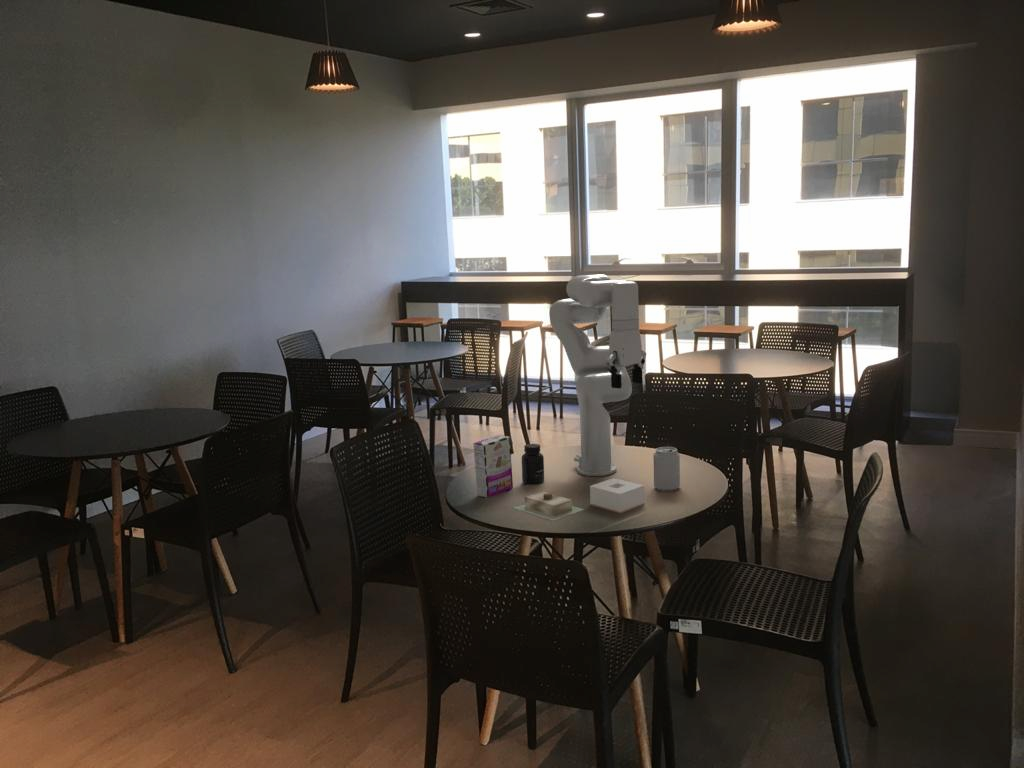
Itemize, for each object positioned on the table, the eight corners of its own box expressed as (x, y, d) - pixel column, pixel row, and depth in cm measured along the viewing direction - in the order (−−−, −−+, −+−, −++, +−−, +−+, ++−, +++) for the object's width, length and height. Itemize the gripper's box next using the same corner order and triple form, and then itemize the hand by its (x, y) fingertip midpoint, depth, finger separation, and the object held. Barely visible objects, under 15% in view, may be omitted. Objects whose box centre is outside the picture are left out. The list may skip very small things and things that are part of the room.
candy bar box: (501, 486, 256) (498, 434, 253) (513, 489, 253) (511, 436, 250) (475, 496, 248) (472, 442, 245) (487, 499, 245) (484, 444, 242)
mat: (513, 509, 234) (512, 507, 234) (543, 499, 242) (543, 497, 242) (553, 522, 222) (553, 520, 222) (584, 511, 230) (584, 509, 230)
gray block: (590, 506, 234) (589, 486, 233) (614, 498, 240) (613, 478, 239) (620, 515, 226) (620, 493, 224) (644, 506, 232) (644, 485, 231)
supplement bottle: (542, 486, 254) (541, 448, 252) (520, 486, 255) (519, 448, 253) (546, 480, 261) (544, 442, 259) (524, 479, 262) (522, 442, 260)
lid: (525, 506, 234) (524, 493, 234) (541, 501, 238) (541, 487, 238) (555, 516, 225) (554, 502, 225) (572, 510, 230) (571, 496, 229)
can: (679, 492, 243) (679, 452, 241) (653, 492, 244) (652, 452, 242) (680, 484, 250) (679, 445, 248) (654, 484, 252) (653, 445, 249)
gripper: (633, 322, 245) (634, 380, 248) (595, 328, 233) (597, 388, 236) (654, 322, 240) (655, 382, 243) (617, 329, 228) (618, 391, 231)
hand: (627, 385), depth 239 cm, fingers open, 9 cm apart
